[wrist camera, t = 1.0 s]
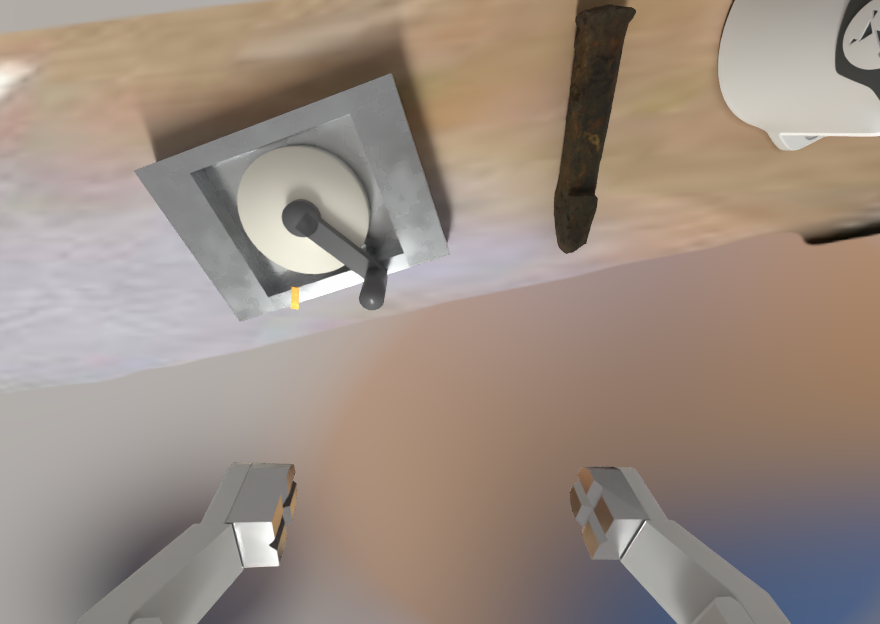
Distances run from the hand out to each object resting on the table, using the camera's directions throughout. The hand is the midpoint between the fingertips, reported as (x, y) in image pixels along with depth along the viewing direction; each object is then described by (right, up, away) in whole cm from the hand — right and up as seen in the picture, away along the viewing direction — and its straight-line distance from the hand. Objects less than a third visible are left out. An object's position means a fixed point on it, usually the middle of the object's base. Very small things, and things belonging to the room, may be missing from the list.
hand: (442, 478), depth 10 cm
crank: (-11, +13, +24) cm, 29 cm away
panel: (-12, +15, +24) cm, 31 cm away
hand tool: (+13, +20, +23) cm, 33 cm away
